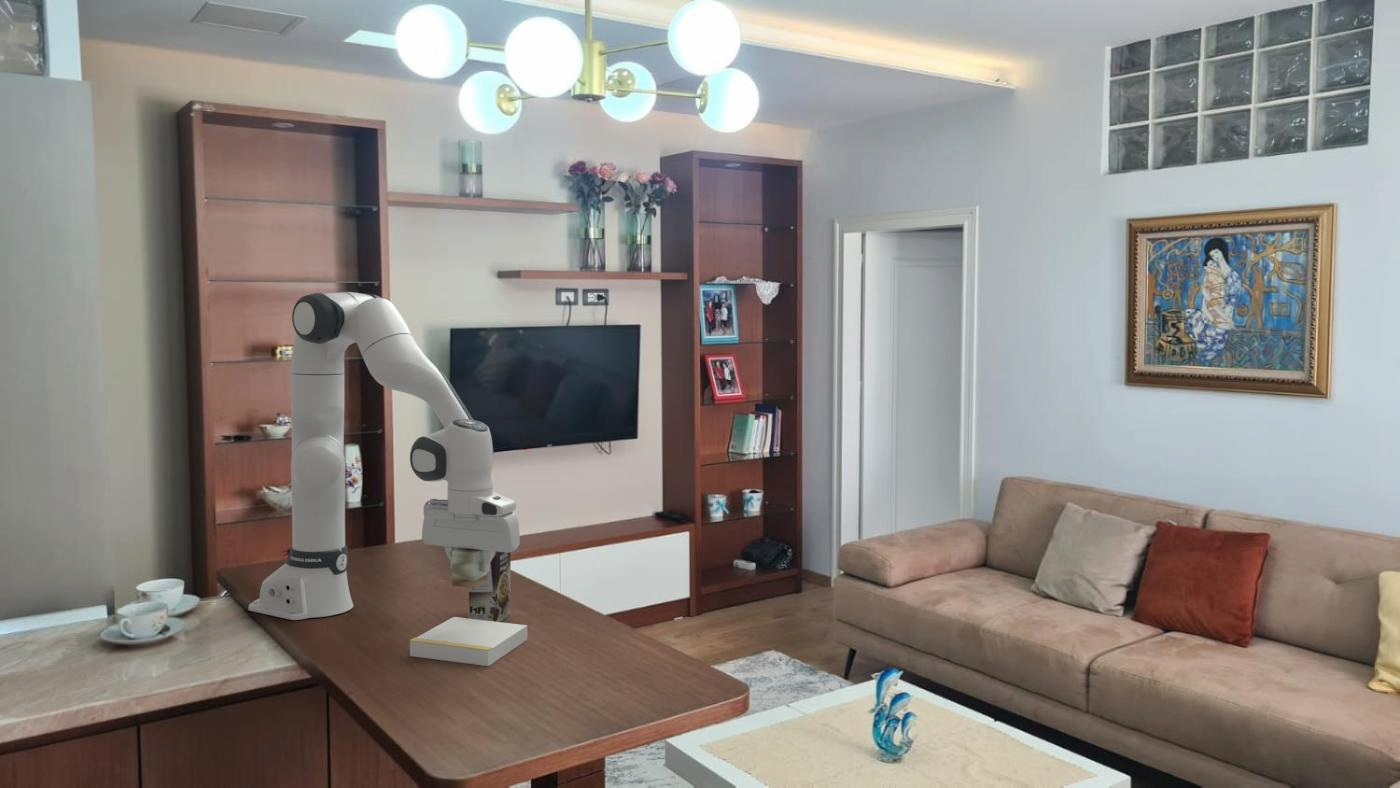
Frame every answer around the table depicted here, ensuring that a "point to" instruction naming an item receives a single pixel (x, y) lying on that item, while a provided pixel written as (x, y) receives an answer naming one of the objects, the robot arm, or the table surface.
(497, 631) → the block
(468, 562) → the pale green block
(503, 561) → the coffee box
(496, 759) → the table surface
